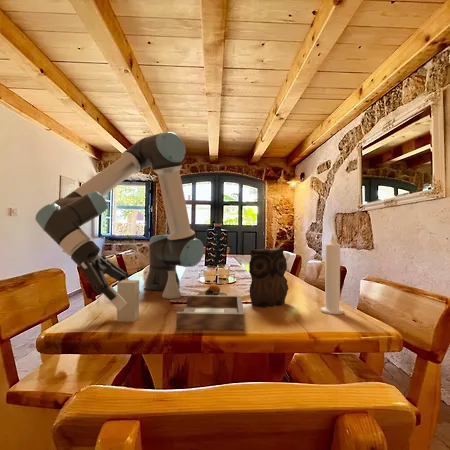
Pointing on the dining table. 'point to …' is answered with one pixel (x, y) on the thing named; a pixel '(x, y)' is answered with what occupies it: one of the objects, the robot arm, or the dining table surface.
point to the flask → (171, 287)
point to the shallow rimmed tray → (211, 313)
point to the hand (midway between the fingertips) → (131, 300)
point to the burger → (213, 291)
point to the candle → (332, 278)
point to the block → (128, 300)
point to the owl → (268, 277)
